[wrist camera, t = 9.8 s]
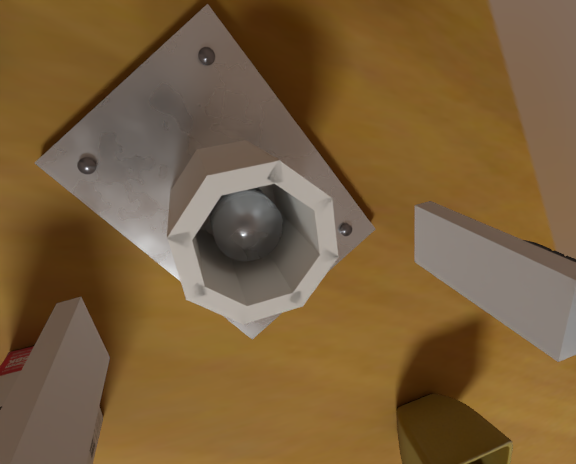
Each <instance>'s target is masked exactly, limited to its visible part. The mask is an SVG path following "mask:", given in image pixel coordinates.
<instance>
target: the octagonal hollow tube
mask: <svg viewBox="0 0 576 464" xmlns="http://www.w3.org/2000/svg"><path fill="white" fill-rule="evenodd" d="M271 184H272V186H273V192H274V197H275V203H276V207H277V208H278V210H279V211H280V213H281V216H282V219H283V233H282V236H281V239H280V241H279V243H278V245H277V246H276V247H275V249H274V250H273V251H272V252H270V253H269V254H268V255H266V256H265V257H263V258H261V259H258V260H255V261H247V262H246V261H238V260H234V259H232V258H230V257H228V256H226V255H225V254H224V253H223V252H222V251H221V250H220V249H219V247H218V246H217V244H216V242H215V239H214V236H213V235H211V234H209V233H207V232H205V231H203V230H202V229H200V228H201V226H202V224H203V223H204V221H205V220H206V218H207V217H208V215H209V214H210V212H211V211H212V209H213V208H214V206H215V205H216V203H217V202H218V200H219V198H220V197H221V195H226V194H230V193H235V192H239V191H244V190H248V189H253V188H257V187H262V186H266V185H271ZM332 199H333V198H332V197H331V196H330V195H328V194H326V193H325V192H323V191H322V190H320V189H319V188H318V187H316V186H315V185H313V184H312V183H311V182H309V181H308V180H306V179H305V178H304V177H302V176H301V175H299V174H298V173H297V172H295V171H294V170H292V169H291V168H289V167H288V166H287V165H285V164H284V163H282V162H281V160H279V159H277V158H276V157H274V156H272V155H271V154H269V153H267V152H265V151H264V150H262V149H260V148H259V147H257V146H255V145H254V144H252V143H250V142H248V141H247V140H243V141H238V142H233V143H228V144H223V145H217V146H212V147H207V148H202V149H197V150H196V151H195V153H194V155H193V156H192V158H191V159H190V161H189V162H188V164H187V166H186V167H185V169H184V170H183V172H182V174H181V175H180V177H179V178H178V180H177V181H176V183H175V185H174V186H173V188H172V189H171V190H170V201H169V214H168V228H167V239H168V242H169V245H170V248H171V252H172V255H173V258H174V261H175V264H176V268H177V271H178V274H179V277H180V281H181V284H182V287H183V290H184V293H185V297H186V300H189V301H191V302H193V303H195V304H198V305H200V306H202V307H205V308H207V309H209V310H211V311H214V312H216V313H218V314H221V315H223V316H225V317H227V318H230V319H232V320H234V321H237V322H239V323H241V324H242V325H243V324H246V323H249V322H253V321H256V320H259V319H262V318H266V317H269V316H272V315H276V314H279V313H282V312H285V311H289V310H292V309H295V308H299V307H302V306H303V305H304V304H305V302H306V301H307V300H308V298H309V297H310V295H311V294H312V293H313V291H314V290H315V289H316V287H317V286H318V284H319V283H320V282H321V280H322V279H323V278H324V276H325V275H326V273H327V272H328V271H329V269H330V268H331V267H332V265H333V264H334V262H335V261H336V260H337V258H338V257H339V256H338V249H337V239H336V230H335V220H334V210H333V200H332Z"/></svg>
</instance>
